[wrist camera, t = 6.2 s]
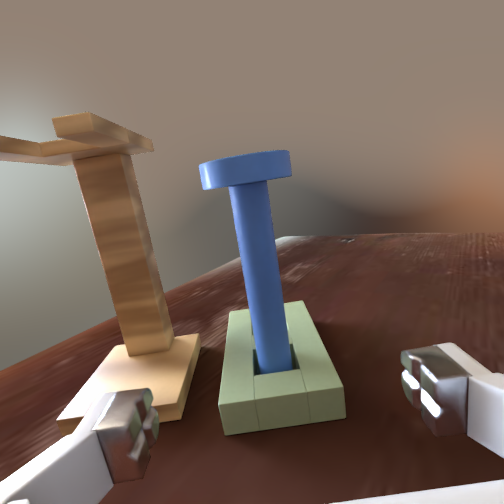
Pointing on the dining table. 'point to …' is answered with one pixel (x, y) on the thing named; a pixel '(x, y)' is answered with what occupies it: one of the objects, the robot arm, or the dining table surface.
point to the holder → (278, 378)
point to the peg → (257, 246)
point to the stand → (119, 264)
